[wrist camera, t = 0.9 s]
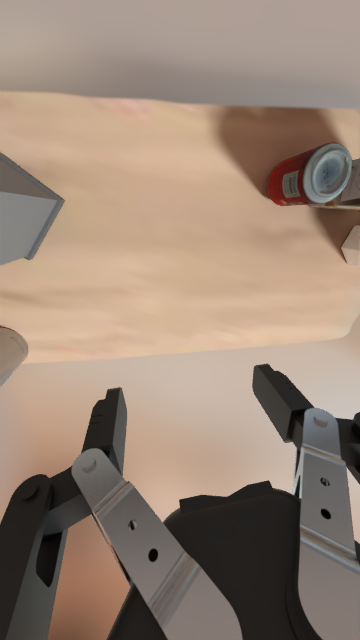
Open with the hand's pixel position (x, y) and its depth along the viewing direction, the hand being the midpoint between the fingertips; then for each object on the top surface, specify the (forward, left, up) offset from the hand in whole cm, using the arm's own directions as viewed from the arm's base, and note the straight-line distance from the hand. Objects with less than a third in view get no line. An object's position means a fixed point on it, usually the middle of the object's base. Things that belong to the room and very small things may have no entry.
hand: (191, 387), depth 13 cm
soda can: (+26, +7, -34) cm, 44 cm away
